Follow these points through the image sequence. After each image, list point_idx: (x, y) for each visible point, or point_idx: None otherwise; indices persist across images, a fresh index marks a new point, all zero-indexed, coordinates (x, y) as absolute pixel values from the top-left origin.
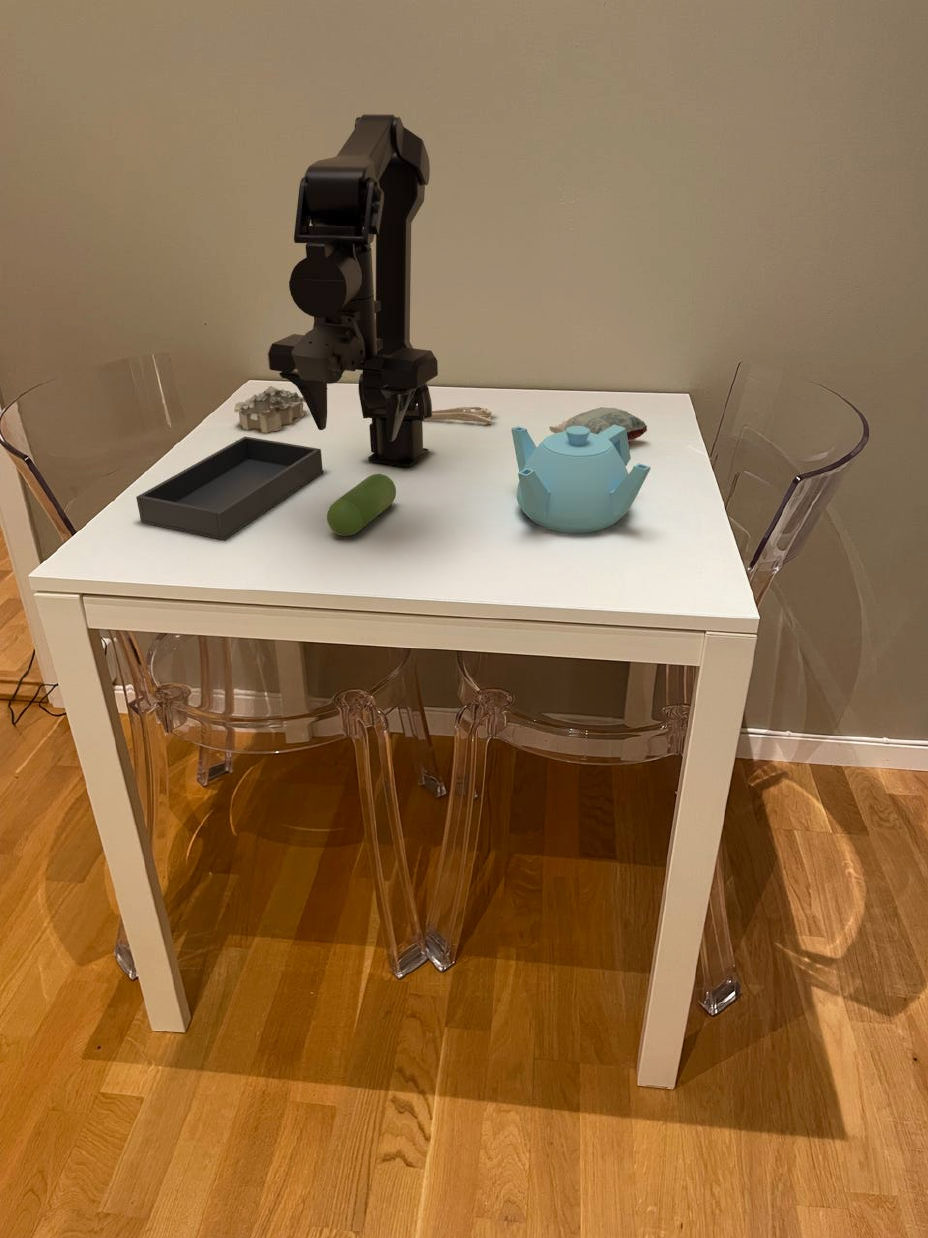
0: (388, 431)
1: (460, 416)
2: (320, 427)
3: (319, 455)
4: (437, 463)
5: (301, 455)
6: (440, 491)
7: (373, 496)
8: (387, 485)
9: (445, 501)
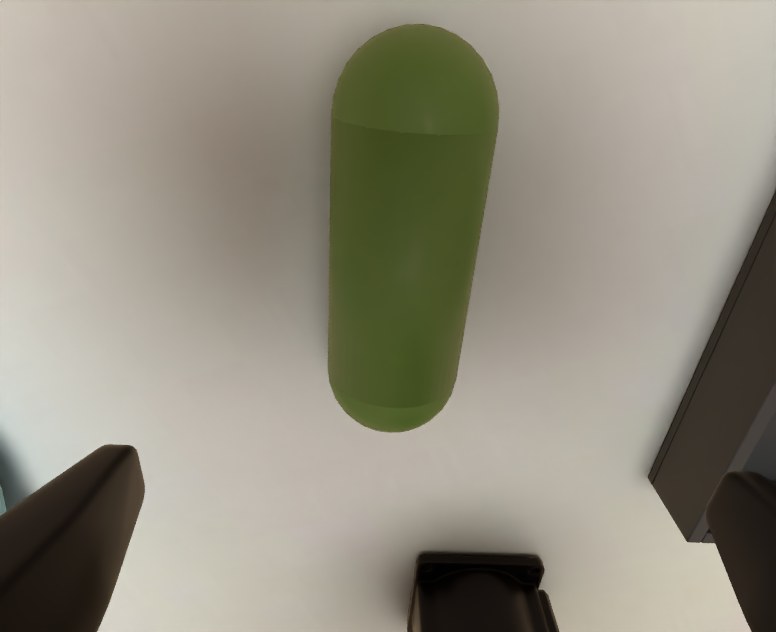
0: (67, 500)
1: None
2: (748, 482)
3: (681, 518)
4: (361, 590)
5: None
6: (272, 473)
7: (343, 265)
8: (340, 371)
9: (224, 428)
